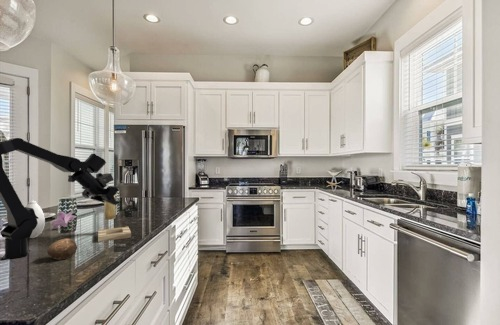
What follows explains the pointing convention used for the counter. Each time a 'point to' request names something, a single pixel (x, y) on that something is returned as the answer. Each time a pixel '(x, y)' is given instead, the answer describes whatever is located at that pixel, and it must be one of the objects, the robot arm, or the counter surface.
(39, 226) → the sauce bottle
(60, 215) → the lily
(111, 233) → the jig
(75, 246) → the potato
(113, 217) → the brass cylinder peg
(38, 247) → the counter surface
